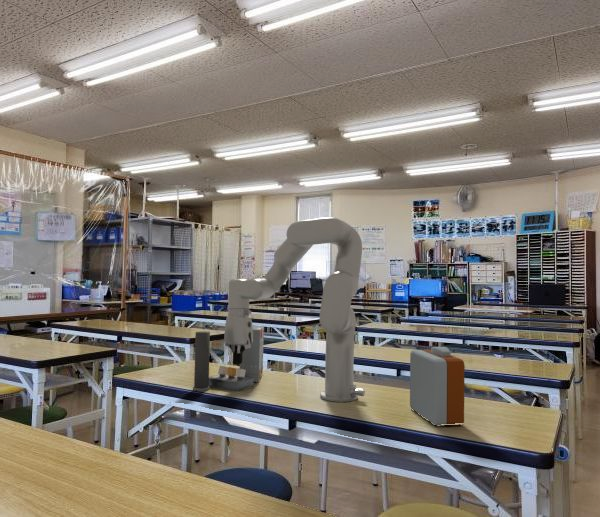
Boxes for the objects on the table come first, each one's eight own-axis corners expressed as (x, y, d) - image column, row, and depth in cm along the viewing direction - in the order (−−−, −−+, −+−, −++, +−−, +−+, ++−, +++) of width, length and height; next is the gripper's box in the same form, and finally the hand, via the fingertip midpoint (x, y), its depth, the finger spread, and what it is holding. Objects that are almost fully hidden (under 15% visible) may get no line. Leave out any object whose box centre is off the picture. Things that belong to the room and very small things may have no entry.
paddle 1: (243, 379, 169) (245, 370, 170) (239, 378, 166) (241, 368, 167) (239, 379, 170) (241, 369, 171) (235, 378, 167) (237, 368, 168)
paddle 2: (235, 378, 171) (237, 368, 172) (230, 377, 168) (232, 367, 169) (231, 377, 171) (233, 368, 173) (226, 376, 169) (228, 366, 170)
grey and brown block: (465, 427, 128) (465, 352, 129) (435, 428, 127) (436, 352, 128) (435, 407, 147) (435, 342, 147) (408, 408, 145) (409, 342, 146)
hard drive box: (259, 383, 175) (260, 329, 176) (238, 382, 176) (239, 329, 176) (263, 374, 191) (264, 325, 192) (244, 373, 191) (245, 325, 192)
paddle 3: (226, 377, 173) (228, 367, 174) (221, 375, 170) (223, 366, 171) (222, 376, 173) (224, 367, 174) (217, 375, 171) (219, 365, 172)
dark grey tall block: (212, 388, 166) (213, 332, 166) (202, 391, 161) (203, 333, 161) (200, 386, 168) (201, 330, 169) (189, 389, 163) (191, 332, 164)
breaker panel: (253, 386, 170) (253, 377, 170) (238, 391, 162) (239, 382, 162) (222, 381, 177) (222, 372, 177) (207, 386, 169) (207, 377, 169)
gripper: (261, 313, 169) (260, 364, 168) (228, 311, 176) (227, 360, 175) (249, 314, 162) (248, 367, 162) (215, 312, 169) (214, 363, 169)
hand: (237, 363), depth 169 cm, fingers closed
